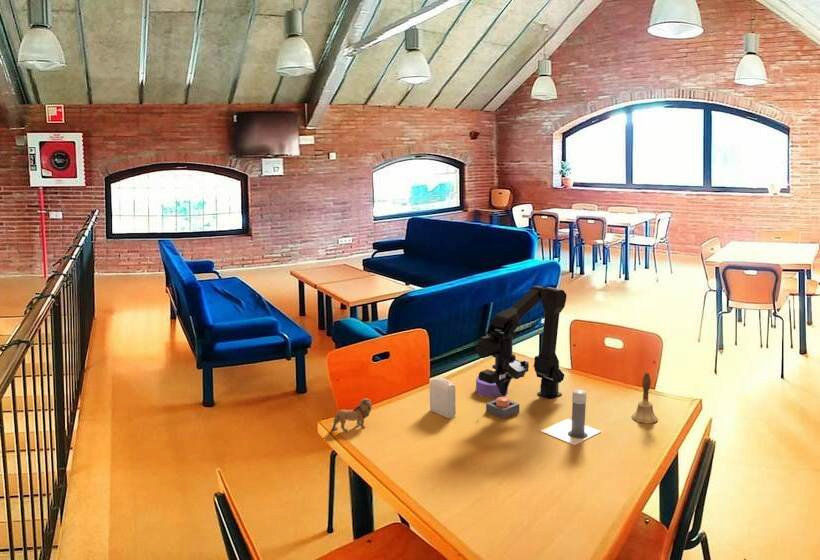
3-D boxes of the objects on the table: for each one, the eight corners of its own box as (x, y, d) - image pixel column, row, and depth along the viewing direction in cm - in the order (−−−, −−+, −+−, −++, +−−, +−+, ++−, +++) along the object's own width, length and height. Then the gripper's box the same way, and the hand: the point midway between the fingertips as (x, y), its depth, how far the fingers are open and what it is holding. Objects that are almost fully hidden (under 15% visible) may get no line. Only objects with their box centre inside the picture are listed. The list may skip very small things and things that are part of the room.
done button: (502, 405, 232) (502, 395, 231) (512, 409, 228) (512, 399, 228) (493, 409, 229) (493, 399, 228) (503, 413, 226) (503, 403, 225)
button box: (501, 405, 234) (502, 397, 234) (519, 412, 228) (519, 404, 228) (486, 411, 229) (486, 403, 229) (503, 418, 223) (503, 410, 223)
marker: (572, 430, 213) (574, 389, 210) (585, 432, 211) (587, 391, 208) (569, 435, 209) (571, 393, 206) (583, 438, 208) (585, 395, 205)
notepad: (567, 419, 222) (567, 418, 222) (601, 432, 213) (601, 431, 212) (540, 431, 214) (540, 430, 213) (574, 445, 204) (574, 444, 204)
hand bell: (627, 419, 222) (629, 373, 219) (638, 411, 228) (640, 367, 224) (651, 426, 216) (654, 379, 213) (662, 418, 222) (665, 372, 219)
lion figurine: (368, 420, 224) (367, 395, 222) (375, 426, 219) (374, 400, 218) (327, 430, 217) (326, 404, 215) (334, 436, 212) (333, 409, 210)
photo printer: (427, 410, 231) (427, 376, 229) (437, 407, 234) (437, 373, 231) (448, 419, 223) (448, 384, 221) (457, 416, 226) (457, 381, 223)
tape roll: (509, 397, 242) (510, 384, 241) (477, 397, 242) (477, 384, 241) (505, 385, 253) (505, 373, 252) (474, 385, 253) (474, 373, 252)
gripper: (502, 363, 212) (502, 409, 216) (540, 351, 224) (539, 394, 227) (477, 355, 221) (477, 399, 224) (515, 343, 232) (514, 385, 236)
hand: (503, 395), depth 228 cm, fingers closed
